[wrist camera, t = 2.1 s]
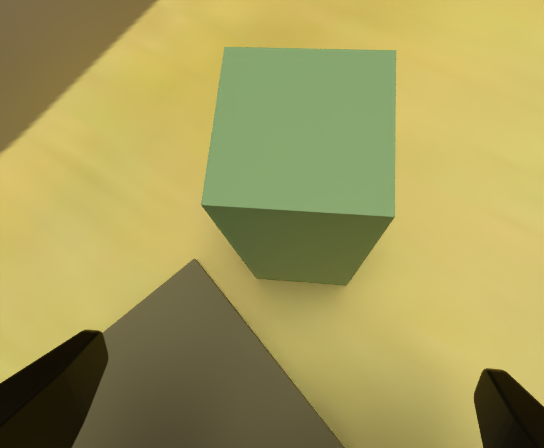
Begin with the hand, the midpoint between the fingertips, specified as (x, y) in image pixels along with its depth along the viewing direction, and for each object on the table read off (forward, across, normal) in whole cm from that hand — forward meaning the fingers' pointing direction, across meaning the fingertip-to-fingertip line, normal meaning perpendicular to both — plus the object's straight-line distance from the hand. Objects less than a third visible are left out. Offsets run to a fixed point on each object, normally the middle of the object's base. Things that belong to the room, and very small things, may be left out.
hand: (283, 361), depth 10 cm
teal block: (+13, 0, +4) cm, 14 cm away
